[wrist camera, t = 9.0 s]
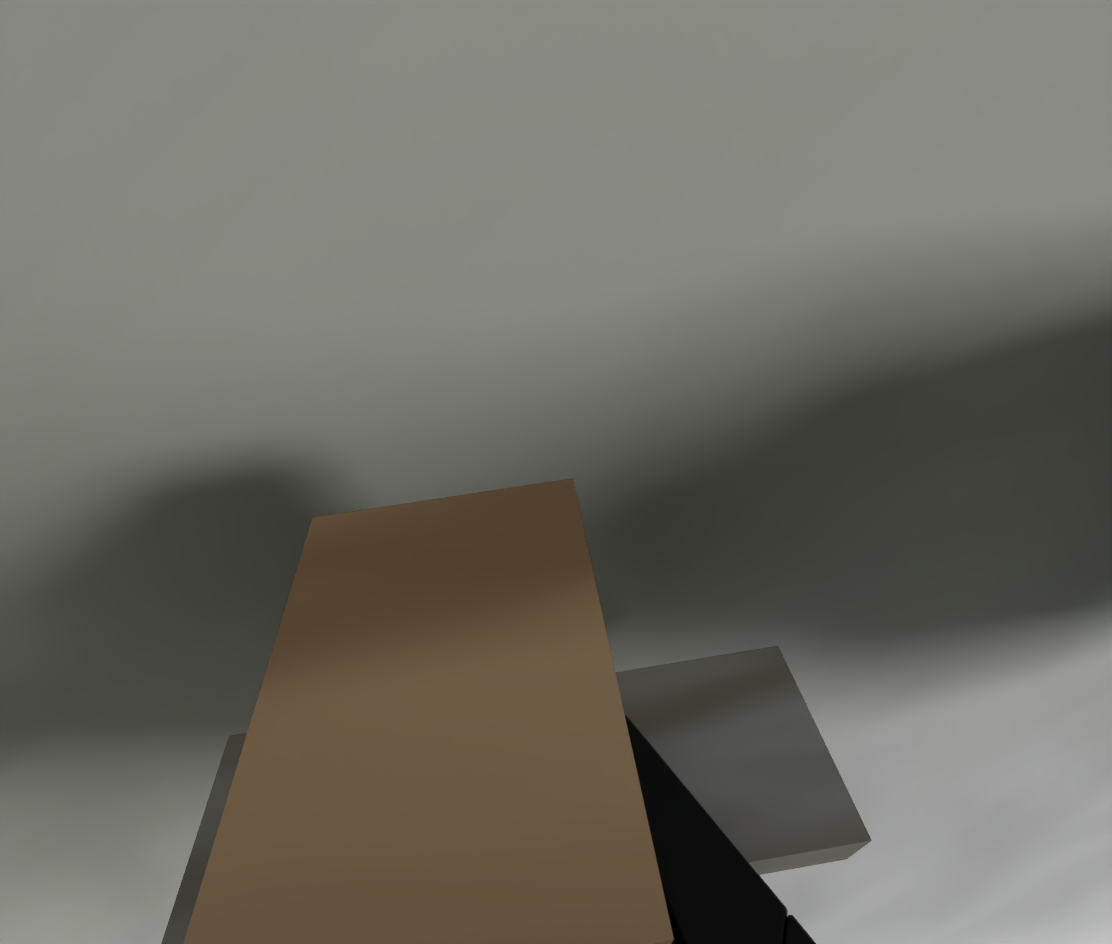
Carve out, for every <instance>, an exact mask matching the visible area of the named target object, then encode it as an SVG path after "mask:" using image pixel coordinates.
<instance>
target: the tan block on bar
mask: <svg viewBox="0 0 1112 944" xmlns="http://www.w3.org/2000/svg"><path fill="white" fill-rule="evenodd" d="M625 715H626V716H627V717H628V718H629V719H630V720H631V721H632V722H633V724H634V725H635V726H636V727H637V728H638V730H639V731H640V732H641V733H642V734H643V736H644V737H645V738H646V739H647V740H648V742H649V743H650V744H651V745H652V747H653V748H654V749H655V750H656V751H657V753H658V754H659V755H660V756H661V757H662V759H663V760H664V761H665V762H666V763H667V765H668V766H669V767H670V768H671V769H672V771H673V772H674V773H675V774H676V775H677V777H678V778H679V779H680V780H681V782H682V783H683V784H684V785H685V786H686V788H687V789H688V790H689V791H690V792H691V794H692V795H693V796H694V797H695V798H696V800H697V801H698V802H699V803H700V804H701V806H702V807H703V808H704V809H705V811H706V812H707V813H708V814H709V815H710V817H711V818H712V819H713V820H714V821H715V823H716V824H717V825H718V826H719V827H720V829H721V830H722V831H723V832H724V833H725V835H726V836H727V837H728V838H729V839H730V841H731V842H732V843H733V844H734V846H735V847H736V848H737V849H738V850H739V852H740V853H741V854H742V855H743V856H744V858H745V859H746V860H747V861H748V862H749V864H750V865H751V866H752V867H753V868H754V870H755V871H756V872H757V873H758V875H760V874H766V873H772V872H777V871H783V870H788V869H794V868H799V867H805V866H811V865H816V864H822V863H827V862H833V861H839V860H844V859H847V858H849V857H850V856H851V855H853V854H854V853H855V852H857V851H858V850H859V849H861V848H862V847H864V846H865V845H866V844H868V843H869V842H870V841H872V840H871V838H870V836H869V834H868V832H867V830H866V828H865V826H864V824H863V822H862V819H861V817H860V815H859V813H858V811H857V809H856V807H855V805H854V803H853V801H852V799H851V797H850V795H849V792H848V790H847V788H846V786H845V784H844V782H843V780H842V778H841V776H840V774H839V772H838V770H837V768H836V765H835V763H834V761H833V759H832V757H831V755H830V753H829V751H828V749H827V747H826V745H825V743H824V741H823V739H822V736H821V734H820V732H819V730H818V728H817V726H816V724H815V722H814V720H813V718H812V716H811V714H810V712H809V709H808V707H807V705H806V703H805V701H804V699H803V697H802V695H801V693H800V691H799V689H798V687H797V685H796V682H795V680H794V678H793V676H792V674H791V672H790V670H789V668H788V666H787V664H786V662H785V660H784V658H783V656H782V653H781V651H780V649H779V647H778V646H775V647H769V648H763V649H756V650H750V651H744V652H738V653H732V654H726V655H720V656H714V657H708V658H701V659H695V660H689V661H683V662H677V663H671V664H665V665H659V666H653V667H647V668H640V669H634V670H628V671H622V672H616V673H615V669H614V664H613V660H612V655H611V651H610V646H609V641H608V637H607V632H606V628H605V623H604V619H603V614H602V610H601V605H600V601H599V596H598V591H597V587H596V582H595V578H594V573H593V569H592V564H591V560H590V555H589V550H588V546H587V541H586V537H585V532H584V528H583V523H582V519H581V514H580V510H579V505H578V500H577V496H576V491H575V487H574V482H573V478H572V479H565V480H559V481H552V482H545V483H539V484H532V485H526V486H519V487H512V488H506V489H499V490H492V491H486V492H479V493H472V494H466V495H459V496H452V497H446V498H439V499H433V500H426V501H419V502H413V503H406V504H399V505H393V506H386V507H379V508H373V509H366V510H359V511H353V512H346V513H339V514H333V515H326V516H320V517H313V518H312V521H311V524H310V527H309V531H308V534H307V537H306V541H305V544H304V547H303V550H302V554H301V557H300V560H299V564H298V567H297V570H296V573H295V577H294V580H293V583H292V587H291V590H290V593H289V597H288V600H287V603H286V606H285V610H284V613H283V616H282V620H281V623H280V626H279V630H278V633H277V636H276V639H275V643H274V646H273V649H272V653H271V656H270V659H269V663H268V666H267V669H266V672H265V676H264V679H263V682H262V686H261V689H260V692H259V695H258V699H257V702H256V705H255V709H254V712H253V715H252V719H251V722H250V725H249V728H248V732H247V733H244V734H237V735H231V736H229V738H228V741H227V744H226V747H225V750H224V754H223V757H222V760H221V763H220V766H219V769H218V772H217V775H216V778H215V781H214V784H213V787H212V790H211V793H210V796H209V799H208V803H207V806H206V809H205V812H204V815H203V818H202V821H201V824H200V827H199V830H198V833H197V836H196V839H195V842H194V845H193V849H192V852H191V855H190V858H189V861H188V864H187V867H186V870H185V873H184V876H183V879H182V882H181V885H180V888H179V891H178V894H177V898H176V901H175V904H174V907H173V910H172V913H171V916H170V919H169V922H168V925H167V928H166V931H165V934H164V937H163V940H162V943H161V944H672V942H673V940H674V937H673V933H672V928H671V924H670V919H669V915H668V910H667V905H666V901H665V896H664V892H663V887H662V883H661V878H660V874H659V869H658V864H657V860H656V855H655V851H654V846H653V842H652V837H651V833H650V828H649V824H648V819H647V814H646V810H645V805H644V801H643V796H642V792H641V787H640V783H639V778H638V773H637V769H636V764H635V760H634V755H633V751H632V746H631V742H630V737H629V733H628V728H627V723H626V719H625Z"/></svg>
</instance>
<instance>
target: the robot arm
mask: <svg viewBox="0 0 1112 944" xmlns="http://www.w3.org/2000/svg"><path fill="white" fill-rule="evenodd" d="M625 719H626V723H627V728H628V733H629V737H630V742H631V746H632V751H633V755H634V760H635V764H636V769H637V773H638V778H639V783H640V787H641V792H642V796H643V801H644V805H645V810H646V814H647V819H648V824H649V828H650V833H651V837H652V842H653V846H654V851H655V855H656V860H657V864H658V869H659V874H660V878H661V883H662V887H663V892H664V896H665V901H666V905H667V910H668V915H669V919H670V924H671V928H672V933H673V937H674V940H673V942H672V944H816V943H815V942H814V940H813V939H812V938H811V937H810V936H809V934H808V933H807V932H806V931H805V930H804V928H803V927H802V926H801V925H800V924H799V922H798V921H797V920H796V919H795V918H794V916H792V915H788V911H787V908H786V907H785V906H784V905H783V903H782V902H781V901H780V900H779V899H778V897H777V896H776V895H775V894H774V893H773V891H772V890H771V889H770V888H769V887H768V885H767V884H766V883H765V882H764V881H763V879H762V878H761V877H760V876H759V875H758V873H757V872H756V871H755V870H754V868H753V867H752V866H751V865H750V864H749V862H748V861H747V860H746V859H745V858H744V856H743V855H742V854H741V853H740V852H739V850H738V849H737V848H736V847H735V846H734V844H733V843H732V842H731V841H730V839H729V838H728V837H727V836H726V835H725V833H724V832H723V831H722V830H721V829H720V827H719V826H718V825H717V824H716V823H715V821H714V820H713V819H712V818H711V817H710V815H709V814H708V813H707V812H706V811H705V809H704V808H703V807H702V806H701V804H700V803H699V802H698V801H697V800H696V798H695V797H694V796H693V795H692V794H691V792H690V791H689V790H688V789H687V788H686V786H685V785H684V784H683V783H682V782H681V780H680V779H679V778H678V777H677V775H676V774H675V773H674V772H673V771H672V769H671V768H670V767H669V766H668V765H667V763H666V762H665V761H664V760H663V759H662V757H661V756H660V755H659V754H658V753H657V751H656V750H655V749H654V748H653V747H652V745H651V744H650V743H649V742H648V740H647V739H646V738H645V737H644V736H643V734H642V733H641V732H640V731H639V730H638V728H637V727H636V726H635V725H634V724H633V722H632V721H631V720H630V719H629V718H628V717H627V716H626V715H625ZM787 916H788V917H787Z"/></svg>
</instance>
